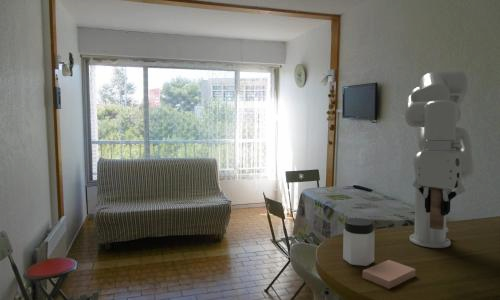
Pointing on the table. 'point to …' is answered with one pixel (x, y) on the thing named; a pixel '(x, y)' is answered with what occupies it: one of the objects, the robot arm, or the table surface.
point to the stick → (436, 209)
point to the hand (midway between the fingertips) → (437, 212)
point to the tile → (388, 273)
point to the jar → (358, 241)
